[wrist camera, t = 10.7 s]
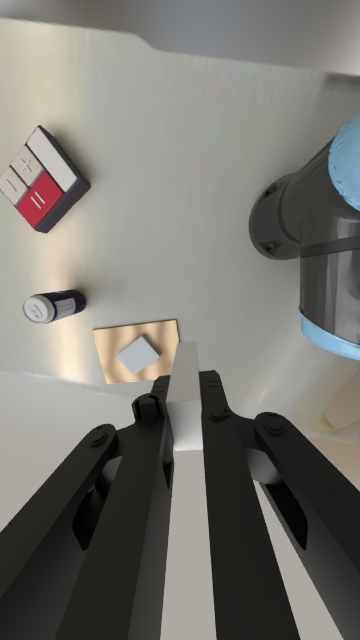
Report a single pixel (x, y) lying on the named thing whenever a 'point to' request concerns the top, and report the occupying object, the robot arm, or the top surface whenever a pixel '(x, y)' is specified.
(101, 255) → the top surface
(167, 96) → the top surface
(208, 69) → the top surface
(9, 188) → the calculator
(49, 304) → the beverage can
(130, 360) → the slate tile
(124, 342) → the cork mat
